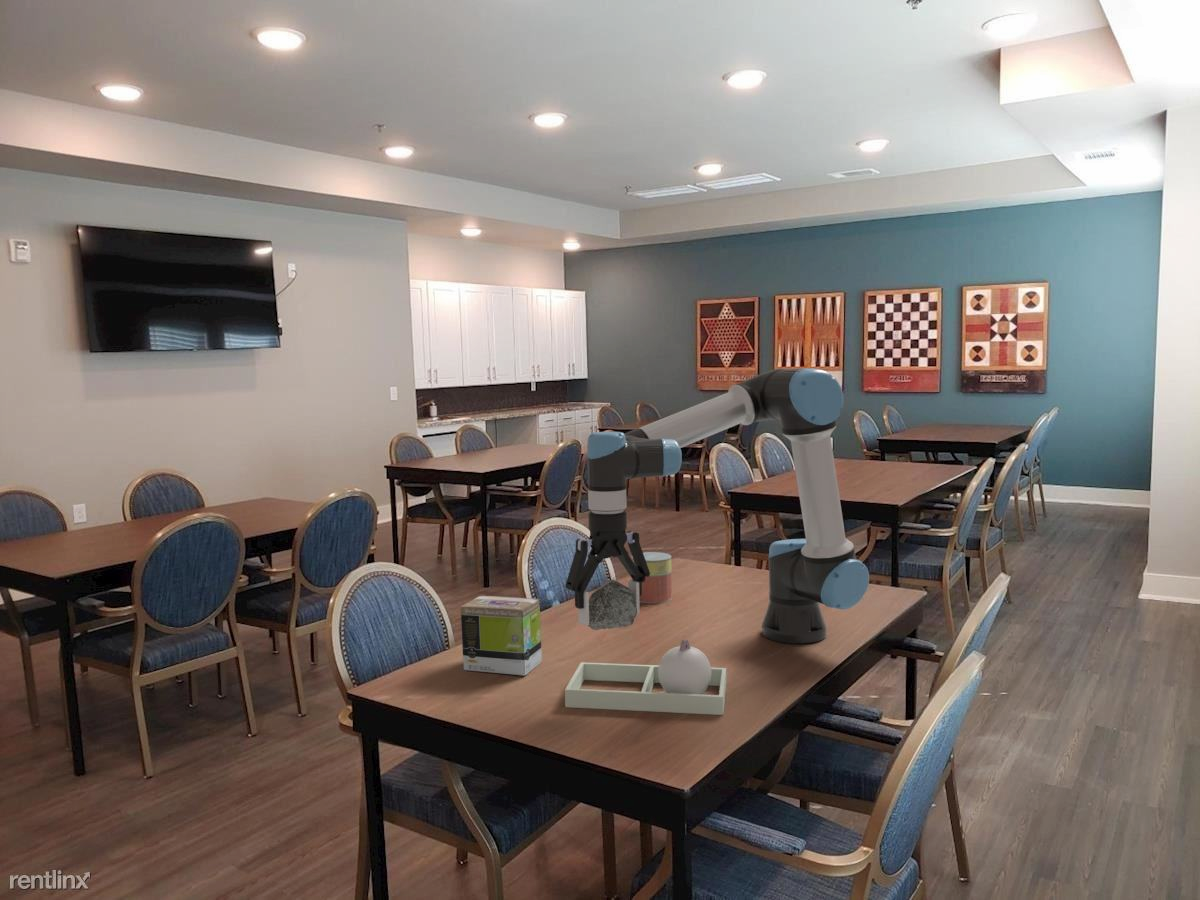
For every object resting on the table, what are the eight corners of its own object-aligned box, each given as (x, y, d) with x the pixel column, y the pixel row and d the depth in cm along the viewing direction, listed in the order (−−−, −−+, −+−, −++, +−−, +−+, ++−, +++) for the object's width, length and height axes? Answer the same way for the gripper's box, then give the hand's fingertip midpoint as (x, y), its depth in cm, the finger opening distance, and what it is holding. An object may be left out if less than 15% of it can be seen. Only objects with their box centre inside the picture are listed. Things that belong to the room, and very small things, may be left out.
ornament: (697, 711, 167) (696, 650, 166) (650, 701, 172) (648, 642, 171) (719, 693, 175) (719, 635, 174) (673, 684, 181) (673, 627, 180)
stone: (610, 581, 169) (619, 567, 179) (573, 612, 172) (584, 597, 181) (643, 618, 169) (650, 603, 179) (605, 649, 171) (614, 632, 181)
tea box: (543, 662, 196) (541, 597, 195) (524, 677, 187) (522, 610, 185) (482, 656, 201) (480, 593, 200) (461, 671, 192) (459, 605, 190)
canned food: (634, 592, 253) (633, 551, 252) (673, 593, 252) (672, 551, 251) (630, 603, 242) (629, 560, 241) (671, 603, 241) (670, 560, 240)
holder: (726, 684, 180) (726, 668, 180) (723, 715, 165) (723, 697, 164) (581, 678, 186) (580, 662, 185) (565, 707, 170) (564, 689, 170)
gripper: (644, 501, 183) (645, 603, 185) (545, 514, 169) (548, 624, 171) (666, 506, 176) (668, 611, 179) (566, 520, 163) (569, 634, 165)
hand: (609, 618), depth 175 cm, fingers closed on stone, 12 cm apart
